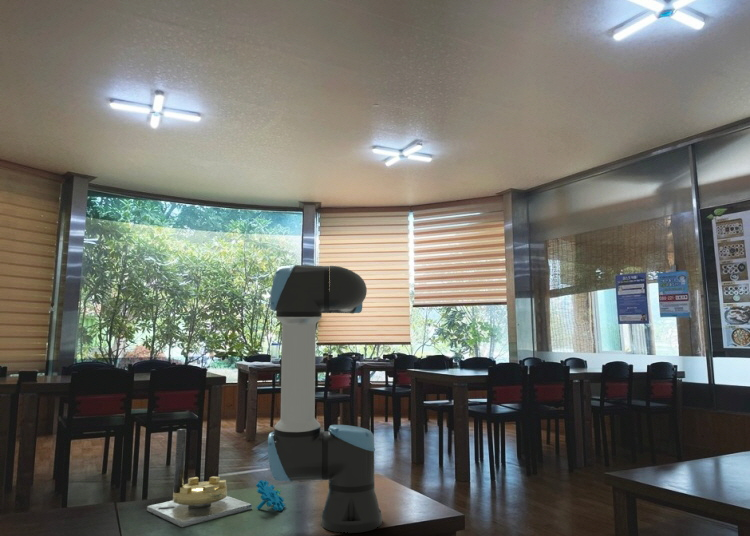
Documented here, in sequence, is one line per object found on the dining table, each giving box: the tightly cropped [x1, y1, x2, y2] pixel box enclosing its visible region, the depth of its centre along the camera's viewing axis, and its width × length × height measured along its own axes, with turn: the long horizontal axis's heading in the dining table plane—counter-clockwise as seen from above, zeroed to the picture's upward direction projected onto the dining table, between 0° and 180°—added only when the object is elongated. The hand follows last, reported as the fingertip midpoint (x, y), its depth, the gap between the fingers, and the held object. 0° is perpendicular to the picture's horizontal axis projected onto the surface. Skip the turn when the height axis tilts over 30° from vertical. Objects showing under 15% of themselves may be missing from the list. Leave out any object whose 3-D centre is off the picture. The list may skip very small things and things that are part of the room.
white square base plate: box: [146, 495, 253, 528], centre depth 138 cm, size 20×20×3 cm
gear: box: [255, 479, 286, 512], centre depth 139 cm, size 11×6×10 cm
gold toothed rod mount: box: [172, 428, 228, 505], centre depth 140 cm, size 14×14×18 cm
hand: (284, 407), depth 157 cm, fingers closed
